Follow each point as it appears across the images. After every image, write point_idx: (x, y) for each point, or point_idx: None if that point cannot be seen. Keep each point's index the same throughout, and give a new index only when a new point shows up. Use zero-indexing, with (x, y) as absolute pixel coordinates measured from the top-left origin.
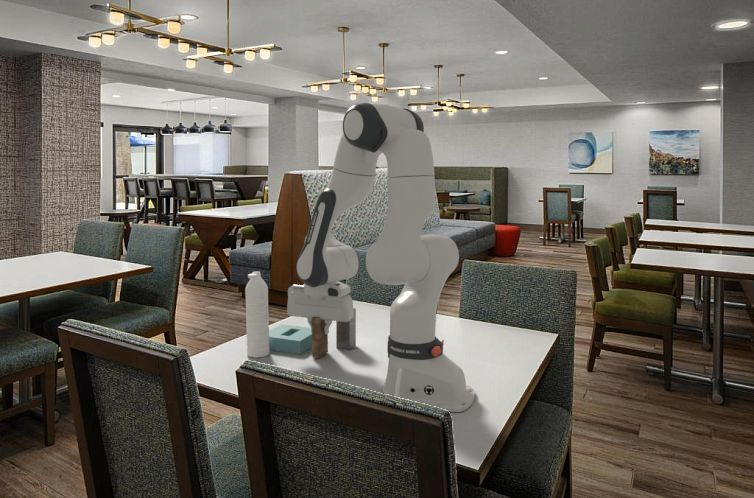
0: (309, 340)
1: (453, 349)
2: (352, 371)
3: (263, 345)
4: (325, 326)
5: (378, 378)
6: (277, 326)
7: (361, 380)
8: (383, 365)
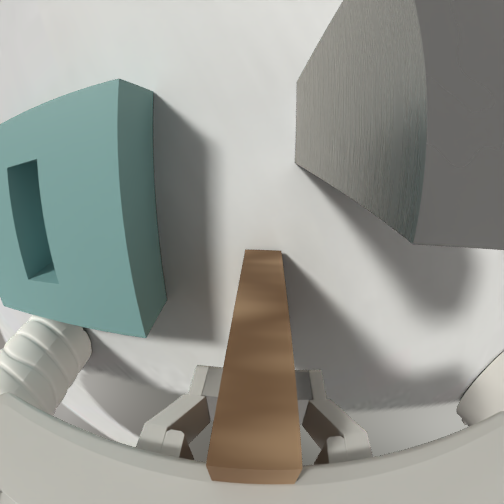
0: (139, 226)
1: None
2: (412, 365)
3: (75, 376)
4: (315, 439)
5: (464, 366)
6: None
7: (429, 390)
8: (489, 290)
